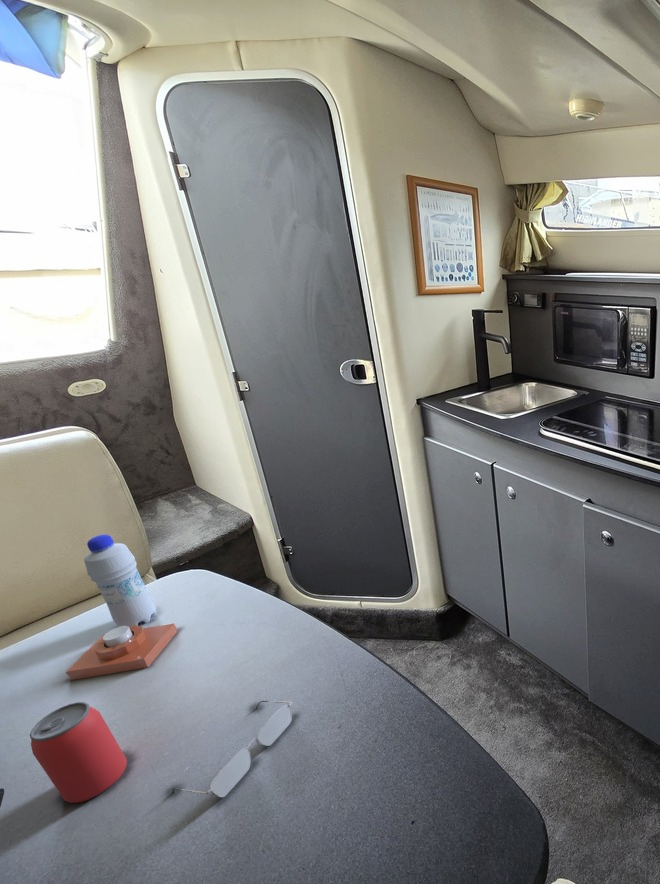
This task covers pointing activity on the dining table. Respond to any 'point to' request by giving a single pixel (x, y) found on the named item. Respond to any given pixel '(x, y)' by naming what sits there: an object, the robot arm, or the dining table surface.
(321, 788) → the dining table surface
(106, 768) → the beer can
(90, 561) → the bottle
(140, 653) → the orange button base
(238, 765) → the eyeglasses
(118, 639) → the white push button
